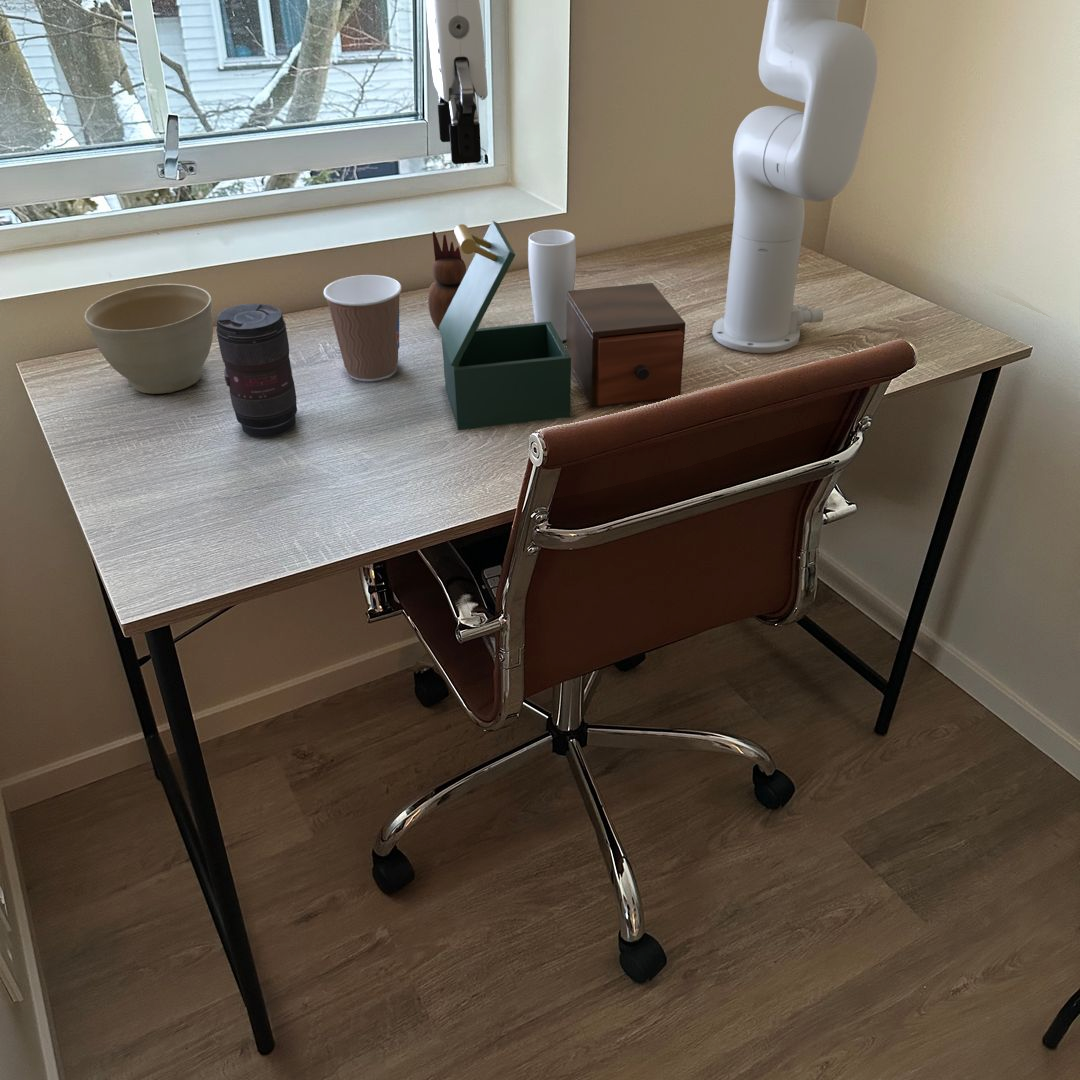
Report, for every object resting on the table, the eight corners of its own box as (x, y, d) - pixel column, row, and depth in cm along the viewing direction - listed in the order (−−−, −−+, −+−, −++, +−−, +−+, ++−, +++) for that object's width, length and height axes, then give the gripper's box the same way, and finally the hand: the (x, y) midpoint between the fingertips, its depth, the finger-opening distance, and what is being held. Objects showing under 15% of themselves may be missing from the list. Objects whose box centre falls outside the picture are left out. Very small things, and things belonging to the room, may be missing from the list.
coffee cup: (423, 373, 142) (415, 290, 135) (357, 394, 137) (346, 309, 130) (385, 348, 148) (376, 268, 142) (321, 368, 143) (309, 286, 137)
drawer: (682, 400, 132) (686, 337, 127) (600, 410, 130) (602, 346, 125) (649, 355, 143) (652, 295, 138) (574, 363, 142) (574, 302, 137)
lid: (498, 223, 126) (459, 204, 124) (515, 254, 117) (474, 234, 115) (443, 330, 133) (405, 313, 130) (456, 368, 123) (416, 351, 121)
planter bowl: (222, 348, 150) (207, 276, 143) (231, 395, 137) (214, 319, 131) (106, 364, 146) (85, 291, 139) (104, 415, 133) (81, 337, 127)
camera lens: (270, 447, 125) (248, 334, 117) (223, 431, 129) (199, 319, 120) (315, 420, 131) (297, 310, 122) (269, 405, 134) (248, 297, 126)
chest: (551, 378, 140) (550, 321, 135) (570, 417, 131) (571, 357, 126) (445, 389, 138) (441, 332, 133) (458, 430, 128) (453, 370, 123)
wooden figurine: (424, 334, 152) (415, 235, 144) (441, 320, 157) (434, 222, 148) (465, 341, 150) (459, 240, 142) (481, 326, 155) (476, 227, 146)
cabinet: (680, 398, 135) (685, 322, 128) (591, 408, 133) (592, 332, 126) (648, 353, 146) (652, 282, 140) (566, 362, 144) (566, 290, 138)
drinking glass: (571, 348, 148) (571, 246, 139) (525, 344, 149) (523, 243, 140) (579, 329, 153) (580, 230, 144) (535, 326, 154) (533, 227, 146)
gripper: (501, -13, 99) (506, 169, 109) (472, -33, 113) (480, 130, 122) (423, -10, 97) (436, 175, 107) (404, -30, 111) (418, 135, 121)
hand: (459, 151), depth 115 cm, fingers open, 9 cm apart
